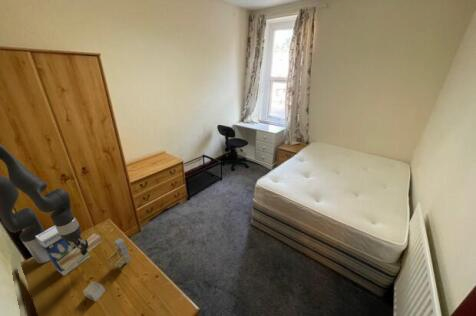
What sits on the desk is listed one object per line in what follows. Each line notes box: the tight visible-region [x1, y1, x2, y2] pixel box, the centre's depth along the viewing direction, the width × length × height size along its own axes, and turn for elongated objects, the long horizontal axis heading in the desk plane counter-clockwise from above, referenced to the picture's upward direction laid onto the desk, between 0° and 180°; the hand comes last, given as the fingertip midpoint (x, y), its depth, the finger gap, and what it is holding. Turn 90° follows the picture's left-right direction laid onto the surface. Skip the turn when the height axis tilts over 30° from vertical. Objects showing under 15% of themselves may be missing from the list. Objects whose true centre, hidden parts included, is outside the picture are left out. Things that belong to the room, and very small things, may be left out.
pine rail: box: [57, 233, 103, 271], centre depth 98 cm, size 4×18×4 cm, turn 159°
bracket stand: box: [82, 237, 131, 302], centre depth 98 cm, size 7×22×16 cm, turn 161°
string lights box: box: [35, 225, 91, 277], centre depth 103 cm, size 13×8×26 cm, turn 152°
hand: (82, 252), depth 99 cm, fingers closed on pine rail, 4 cm apart
